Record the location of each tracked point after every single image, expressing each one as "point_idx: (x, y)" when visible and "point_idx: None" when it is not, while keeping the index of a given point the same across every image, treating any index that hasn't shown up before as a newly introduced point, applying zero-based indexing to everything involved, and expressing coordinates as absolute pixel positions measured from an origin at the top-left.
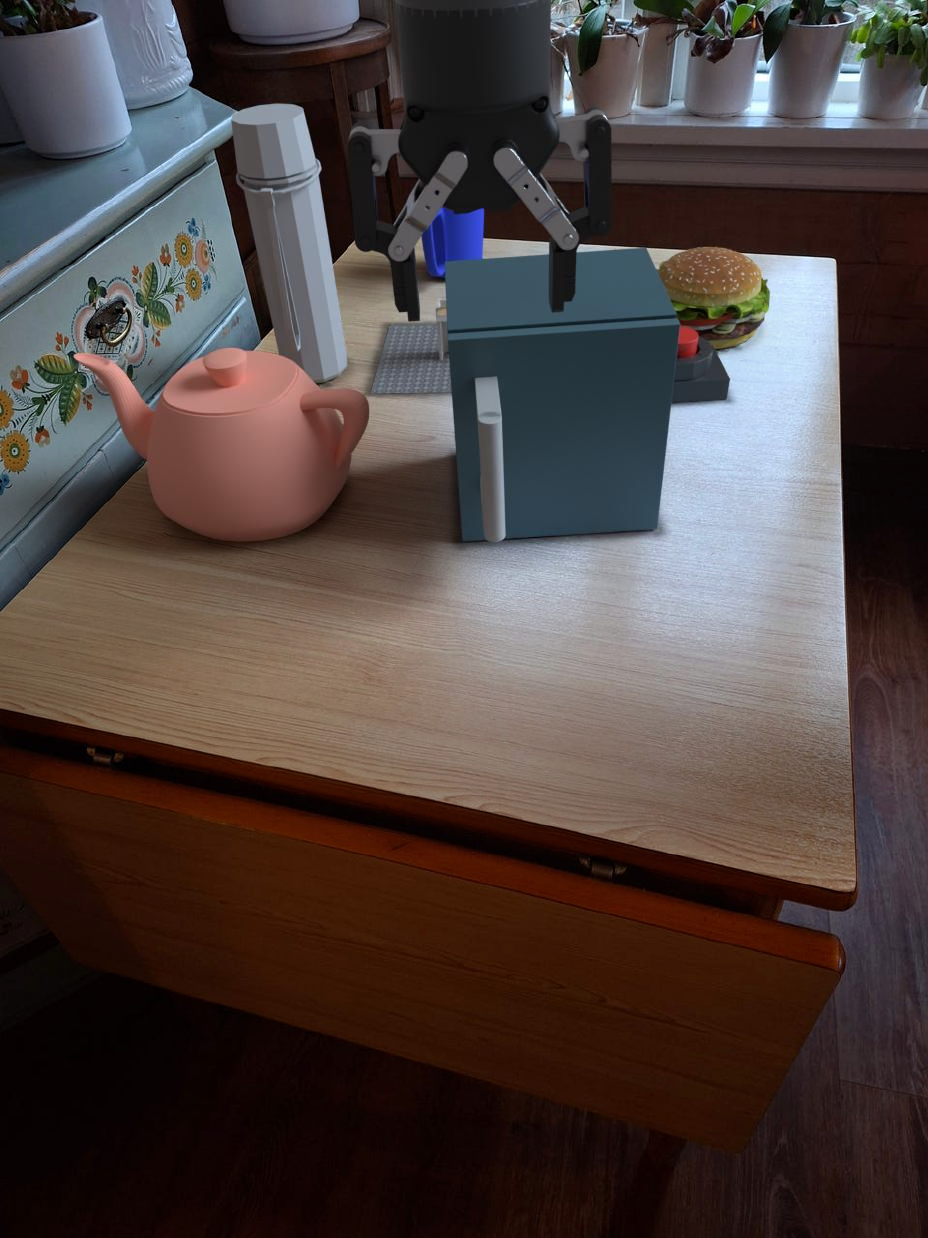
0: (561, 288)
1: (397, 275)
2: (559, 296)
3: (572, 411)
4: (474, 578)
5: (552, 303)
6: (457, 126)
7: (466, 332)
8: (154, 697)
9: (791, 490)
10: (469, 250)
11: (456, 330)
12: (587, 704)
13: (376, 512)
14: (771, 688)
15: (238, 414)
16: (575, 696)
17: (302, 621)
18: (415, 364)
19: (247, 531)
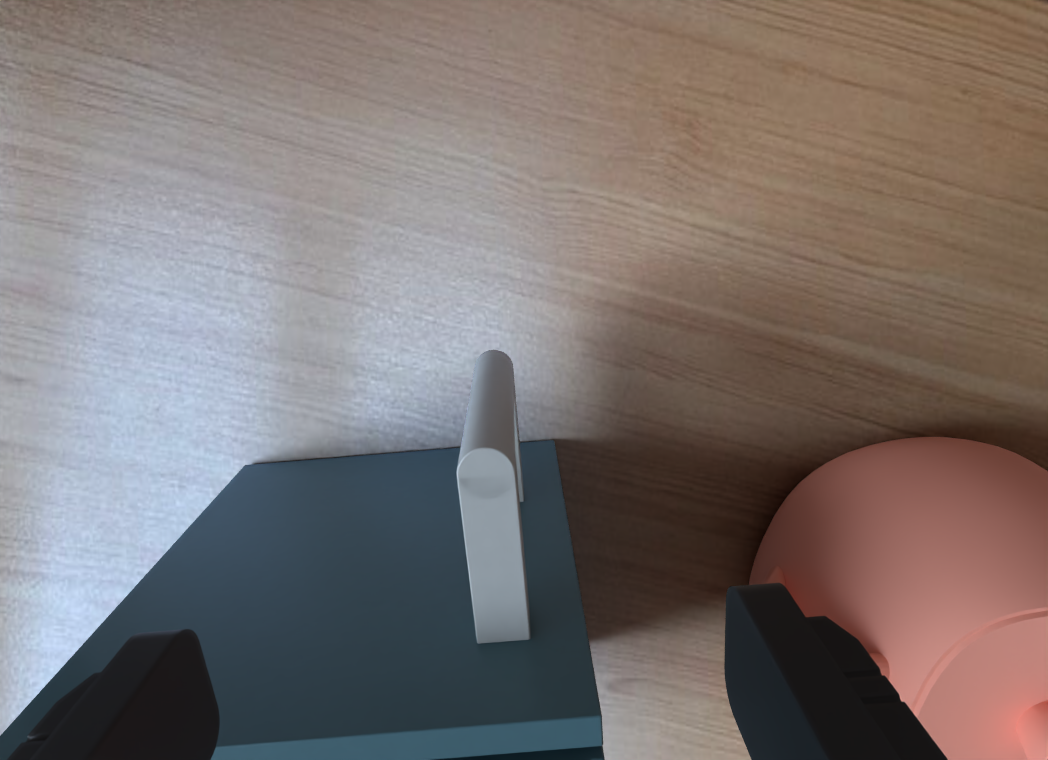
0: (90, 703)
1: (910, 751)
2: (120, 673)
3: (323, 590)
4: (532, 356)
5: (166, 650)
6: None
7: (552, 753)
8: (1031, 84)
9: (36, 554)
10: None
11: (579, 758)
12: (344, 63)
13: (694, 512)
14: (58, 98)
15: (1027, 612)
16: (363, 82)
17: (802, 259)
18: None
19: (914, 438)
